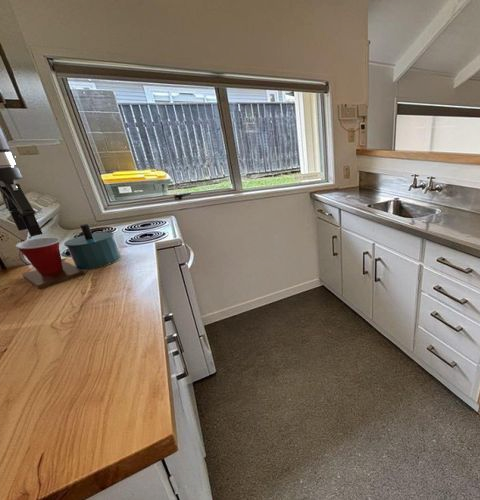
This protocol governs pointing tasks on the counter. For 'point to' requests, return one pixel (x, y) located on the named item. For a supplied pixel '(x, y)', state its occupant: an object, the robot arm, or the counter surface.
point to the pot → (95, 254)
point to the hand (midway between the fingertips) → (30, 232)
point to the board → (53, 276)
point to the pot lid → (88, 237)
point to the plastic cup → (43, 254)
